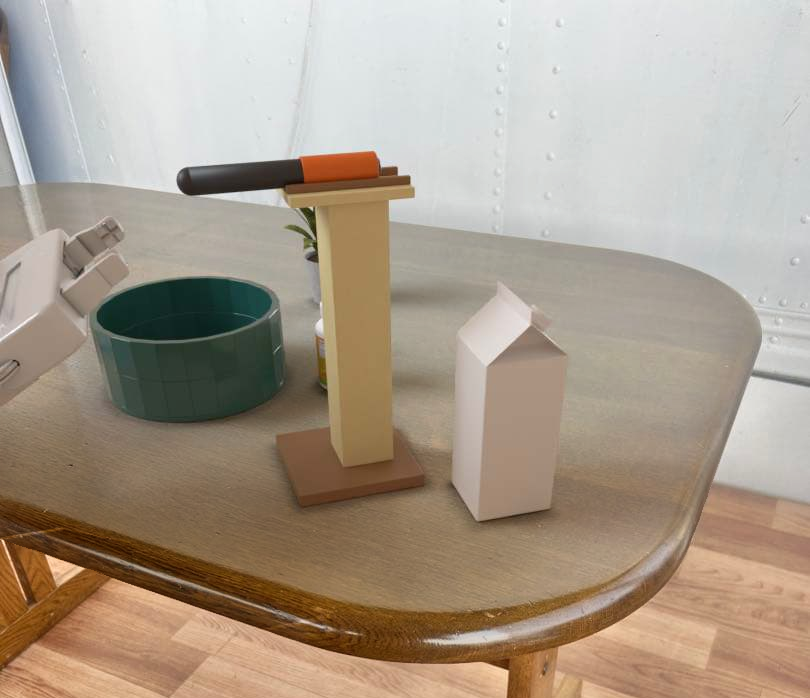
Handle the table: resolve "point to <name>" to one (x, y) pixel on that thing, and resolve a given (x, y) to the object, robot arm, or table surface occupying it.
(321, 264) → the stand
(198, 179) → the marker
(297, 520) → the table surface
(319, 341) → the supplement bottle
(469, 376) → the milk carton
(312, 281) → the house plant
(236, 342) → the pot
